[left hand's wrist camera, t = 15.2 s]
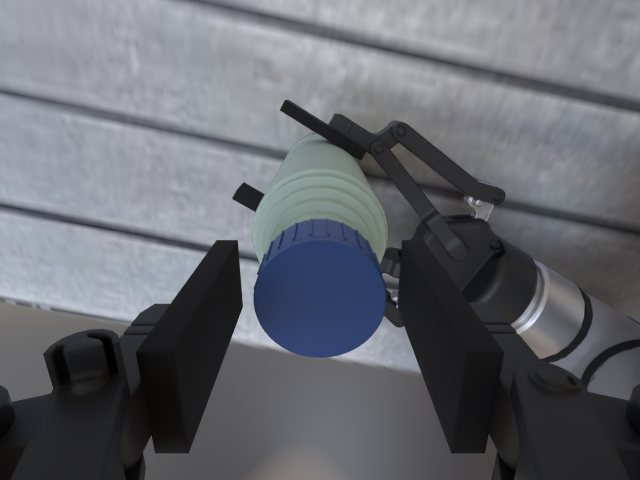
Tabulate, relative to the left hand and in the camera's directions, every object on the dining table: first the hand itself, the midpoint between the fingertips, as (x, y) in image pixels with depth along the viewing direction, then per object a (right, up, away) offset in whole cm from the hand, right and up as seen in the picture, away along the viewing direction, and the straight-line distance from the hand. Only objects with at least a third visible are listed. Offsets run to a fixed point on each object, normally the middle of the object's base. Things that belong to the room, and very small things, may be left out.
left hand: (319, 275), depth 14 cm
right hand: (-4, +8, +14) cm, 17 cm away
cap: (0, -1, -2) cm, 2 cm away
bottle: (0, +8, +21) cm, 23 cm away
